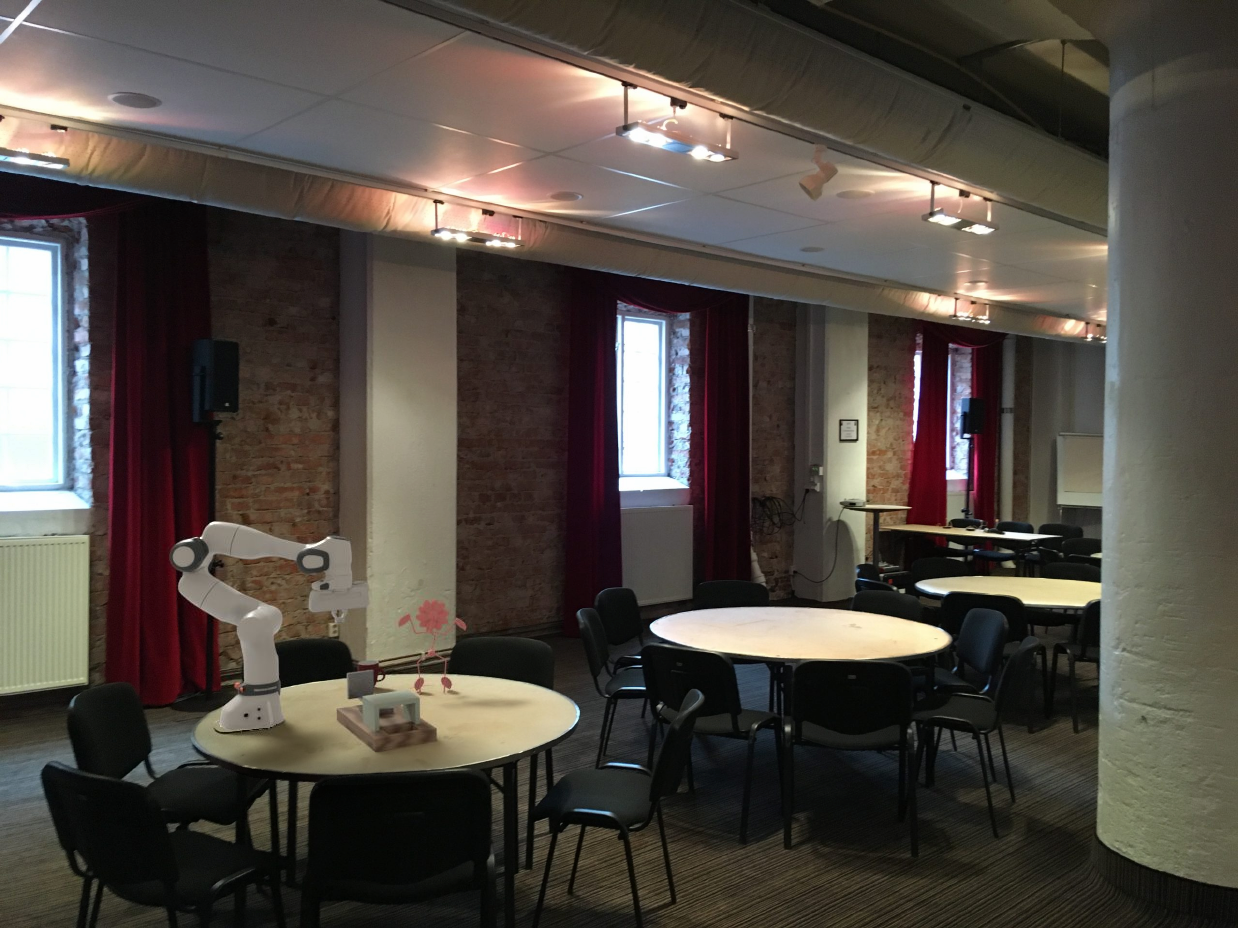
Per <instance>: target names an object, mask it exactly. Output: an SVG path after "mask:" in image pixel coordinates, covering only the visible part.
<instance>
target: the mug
mask: <svg viewBox="0 0 1238 928" xmlns="http://www.w3.org/2000/svg"><path fill="white" fill-rule="evenodd" d="M367 670H373V679H374V688H375V686H376V685H377V683H379V682H382V681H384V680H385V679H386V674H387V673H386V672H385V670H384V669H382V668H380V662H379V661H378V660H371V659H370V660H369V659H368V660H362V661H359V662H357V672H359V671H367ZM379 673H382V678H381V679H378V678H379Z"/></svg>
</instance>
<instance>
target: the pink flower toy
mask: <svg viewBox="0 0 1238 928" xmlns="http://www.w3.org/2000/svg"><path fill="white" fill-rule="evenodd" d="M445 608H446V603H445V602H443V601H442V602H439V600H438V599H433V600H432V601H431V602H430V601H429V600H428V599H424V601H423V604H422V605H419V606H418V608H417V611H418V613H417V614H416V615H415V616H414V617H415V619H416V620H417V621H419V624H418V626H419V627H420V628H425V631H418V632H416V629H415V627H414V623H413V621H412V618H411V614H410V613H407V614H404V615H403V616H402V617H400V619H398V626H397V627H399V628H400V627H403V626H404V625H406V624H407V623H408V622H409V621H410V625H411V627H412V630H413V633H414V635H419V634H426V633H429V634H431V635H432V636H433V641H432V645H431V649H430V650H428V653H427V654H426V655H425V656H423V657H422V658H420V659H419V660H418V661H417V662H416V663H417V664H416V665H417V670H418V678H417V679H416V680H415V682H414V684H413V687H412V689H414V690H415V691H416V692H419V693H418V694H419V695H420V694H422V693H421V692H422V687H423V686H424V687H427V686H429V687H430V684H427V685H424V684H425V680H424V679H425V678H424V677H421V674H420V664H419V663H420V662H421V661H422V660H424V659H425V658H426V657H430V658H433V657H435V656H437V657H438V658H441V659H442V660H443V661H445V663H444V664H445V665H444V676H442V677H441V678H440V682H441V686H443V694H444V693H445V694H446V689H449V690H451V688H452V686H453V683H452V681H451V679H450V678H449V677H448V676H446V674H447V673H446V672H447V659H445V658H444V657H442V656H440V655H438V654H436V651H435V650H434V649H433V648H434V644H435V641H436V634H437V635H439V636H443V637H446V635H447V634H448V632H449V631H450V630H451V628H452V627H453V626H454V625H455V623H456V625H457V626H458V627H459V628H461V629H462V630H464V631H466V629H467V625H466V623H465V622H464V621H463V620H462V619H460V618H458V617H456V618H455V620H454V621H453V622H452V623H451V625H450V626H449V628H448V629H447V631H446V632H445V633H441V632H439V631H441V630H442V629H443V625H448V624H449V620H448V617H447V616H449V615H450V612H449V610H447V609H445ZM434 629H435V630H436V631H434ZM437 631H438V632H437ZM409 689H411V687H409V688H408V690H409Z"/></svg>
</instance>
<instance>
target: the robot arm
mask: <svg viewBox="0 0 1238 928" xmlns="http://www.w3.org/2000/svg"><path fill="white" fill-rule="evenodd" d="M217 554H218V555H219V554H220V555H225V556H229V557H233V558H236V559H243V560H257V559H261V558H266V557H278V558H284V559H287V560H291V561H295V563H296V567H297V568H298V570H299V571H300V572H301V573H303V574H306V575H317V574H319V573H322V572H323V573H325V577H324V578H322V579H319V580H317V581H314V582H312V583H311V589H312V590H311V591H310V593H309V596H308V610H309V611H310V612H311V613H322V612H330V613H331V615H332V617H333V618H334V623H335V624H343V623H345V617H346V616H347V614H348V611H349V610H351V609H353V610H354V609H361V608H363V609H364V608H368V607H369V605H370V598H369V590H370V585H369V583H368V582H366V581H365V580H360V581H359V580H357V581H356V580H355V581H353V571H352V567H351V566H352V563H353V558H352V557H353V556H352V545H351V541H350V540H349V539H348V538H347V537H344V536H341V535H328V536H326V537H325V538H324V539H323V540H321V541H319V542H311V543H301V542H297V541H292V540H288V539H285V538H280V537H277V536H273V535H272V534H271V535H270V534H268V533H265V532H263V531H260V530H258V529H255V528H253V527H249V526H247V525H242V524H238V523H232V522H225V521H212V522H209V524H208V525H206V527H205V528H204V530H203V531H202V535H201V536H200V537H199V536H196V537H192V538H188V539H183V540H180V541H179V542H177V543H176V544H174V546H172V548H171V549H170V552H169V561H170V564H171V566H172V567H174V569H176V570H177V571H180V572H181V573H182V577H180V579H179V582H178V585H177V587H178V588H177V589H178V592H179V593H180V594H181V596H183V597H184V598H185V599H186V600H187V601H189V602H190V603H191V604H193V605H194V606H196V607H197V608H199V609H200V610H202V611H203V612H205V613H207V614H208V615H211V616H212V617H214V618H215V619H217V620H219V621H221V622H225V623H229V624H230V625H231V624H232V625H234V626H236V635H237V637H238V639H239V642H240V647H241V653H242V658H243V679H244V681H243V682H241V683H240V682H235V684H234V688H235V689H236V690H237V694H236V695H235V696H234V697H233V698H232V699H231V700H229V702H227V703H226V704H225V705H224V706H223V707H222V709H221V712H220V716H219V717H220V718H219V720H220V723H219V724H220V727H223V728H225V729H227V730H237V729H239V730H240V729H255V728H256V729H257V728H258V729H259V728H268V729H271V728H270V727H272V728H273V727H275V726H276V724H277V725H279V724H282V722H284V721H285V716H284V713H283V710H282V705H281V698H280V696H281V692H282V691H281V680H280V678H279V675H280V673H279V655H278V654H277V650H276V646H275V645H276V644H275V638H274V637H275V634H277V633H278V632H279V630H280V629H281V627H282V624H283V620H284V618H283V613H282V611H281V610H280V609H279V608H278V607H276V606H274V605H270V604H267V603H265V602H264V601H262V600H260V599H256V598H254V597H252V596H249V595H247V594H244V593H242V592H240V591H238V590H237V589H235V588H233V587H232V586H230V585H228V584H227V583H225V582H223V581H222V580H220V579H218V578H216V577H215V576H213V575H212V574H211V573H210V572H211V570H212V567H213V563H214V560H215V558H216V557H215V556H216V555H217ZM338 611H341V616H338V615H337V614H338ZM217 721H218V720H216V721H215V722H217ZM259 730H260V729H259Z"/></svg>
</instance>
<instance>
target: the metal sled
mask: <svg viewBox="0 0 1238 928" xmlns="http://www.w3.org/2000/svg"><path fill="white" fill-rule="evenodd" d="M374 689H375V687H374V679H373V670H367V671H359V672H358V671H352V672H347V673H346V693H347V694H346V696H347V697H346V698H347V700H355V699H358V700H359V701H360V702H362V703H363V696H368V695H374V694H375V693H374V691H375V690H374ZM359 705H360V706H359V711H361V712H362V713H363V704H359ZM392 712H394V707H387V708H382V709H379V715H380V714H386V713H392Z"/></svg>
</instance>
